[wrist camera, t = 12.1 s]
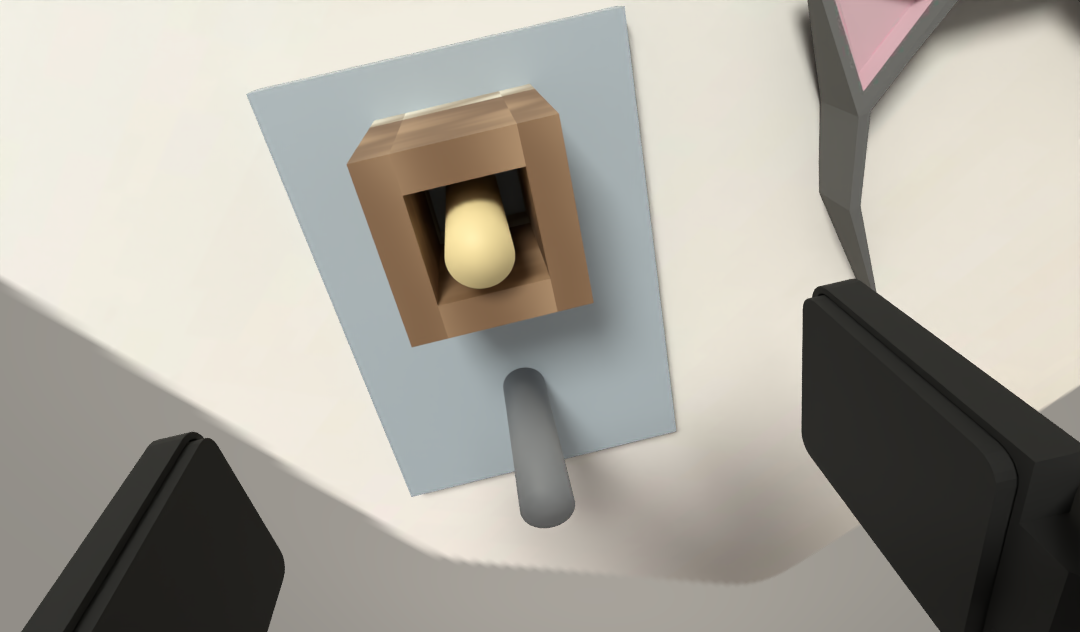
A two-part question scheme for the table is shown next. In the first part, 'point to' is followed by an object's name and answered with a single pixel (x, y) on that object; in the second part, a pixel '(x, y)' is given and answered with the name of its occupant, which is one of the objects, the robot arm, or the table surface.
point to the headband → (859, 96)
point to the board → (473, 364)
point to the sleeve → (458, 155)
